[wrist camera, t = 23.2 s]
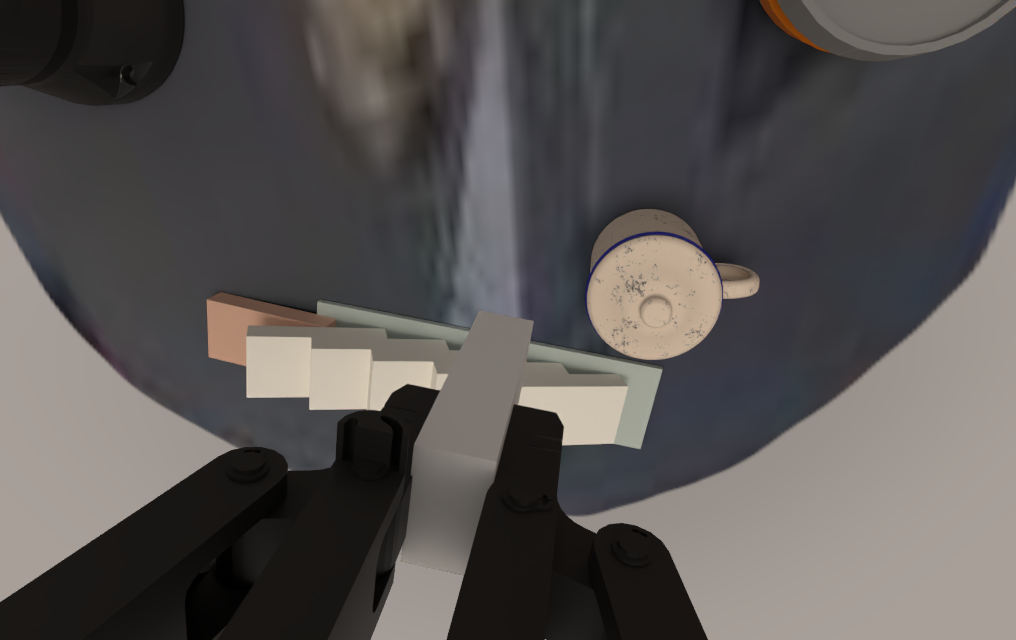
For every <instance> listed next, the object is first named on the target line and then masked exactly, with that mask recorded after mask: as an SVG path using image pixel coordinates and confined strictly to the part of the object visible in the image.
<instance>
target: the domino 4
mask: <svg viewBox="0 0 1016 640" xmlns="http://www.w3.org/2000/svg"><path fill="white" fill-rule="evenodd" d="M459 351H460V350H375V349H371V357H370V370H369V383H368V397H367V410H377V411H381V409H382V408H383V407H384V405H385V403H386V402H387V400H388V398H389V397H390V395H391V394H392V392H394V391H396V390H397V389H399V388H401V387H403V386H404V385H406V384H411V385H416V386H421V387H426V388H430V384H431V376H432V367H433V362H454V361H455V359H456V357H457V355H458V353H459Z"/></svg>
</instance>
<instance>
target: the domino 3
mask: <svg viewBox="0 0 1016 640" xmlns="http://www.w3.org/2000/svg"><path fill="white" fill-rule="evenodd" d="M371 349H375V350H449V348H448V346H447V343H446V341H445V340H436V339H374V338H313V337H311V365H310V395H309V410H334V409H367V397H368V383H369V370H370V357H371Z"/></svg>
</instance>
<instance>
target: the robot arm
mask: <svg viewBox="0 0 1016 640" xmlns="http://www.w3.org/2000/svg"><path fill="white" fill-rule="evenodd" d="M183 27H184V15H183V4H182V0H0V86H11V85H22V86H25V87H28V88H31V89H34V90H37V91H40V92H43V93H46V94H49V95H52V96H55V97H58V98H61V99H64V100H67V101H70V102H74V103H78V104H85V105H95V106H100V105H113V104H123V103H128V102H133V101H136V100H138V99H141V98H143V97H145V96H147V95H148V94H150V93H151V92H153V91H154V90H155V89H157V88H158V87H159V86H160V85H161V84H162V83H163V82H164V80H165V79H166V78H167V77H168V75H169V74H170V72H171V70H172V69H173V67H174V65H175V62H176V60H177V57H178V55H179V51H180V48H181V43H182V37H183ZM533 322H534V321H530V320H525V319H520V318H515V317H510V316H505V315H500V314H495V313H490V312H484V311H479V312H478V314H477V316H476V318H475V320H474V323H473V325H472V327H471V329H470V331H469V333H468V335H467V337H466V339H465V341H464V343H463V345H462V347H461V349H460V351H459V353H458V355H457V357H456V359H455V361H454V364H453V366H452V368H451V370H450V372H449V374H448V376H447V378H446V380H445V382H444V384H443V386H442V388H441V390H435V389H430V388H426V387H421V386H416V385H411V384H406V385H404V386H403V387H401V388H399V389H397V390H396V391H394V392H392V394H391V395H390V397H389V398H388V400H387V402H386V403H385V405H384V407H383V408H382V409H381V411H377V410H365V411H357V412H354V413H352V414H349V415H346V416H345V417H343V418H342V419H341V420H340V421H339V422H338V425H337V443H336V460H335V462H334V463H333V465H332V466H331V468H327V469H323V470H311V471H288V464H287V462H286V460H285V458H284V456H282V455H281V454H279V453H277V452H276V451H274V450H271V449H267V448H263V447H244V448H239V449H235V450H231V451H229V452H227V453H225V454H222V455H220V456H218V457H217V458H216V459H214V460H213V461H211V462H209V463H208V464H206V465H205V466H203V467H202V468H200V469H199V470H197V471H196V472H194V473H193V474H191V475H190V476H189V477H187V478H186V479H184V480H183V481H181V482H180V483H178V484H176V485H175V486H174V487H172V488H171V489H169V490H168V491H166V492H164V493H163V494H162V495H160V496H159V497H157V498H156V499H154V500H153V501H151V502H150V503H148V504H147V505H145V506H144V507H142V508H141V509H139V510H138V511H136V512H135V513H133V514H132V515H130V516H129V517H127V518H126V519H124V520H123V521H121V522H120V523H118V524H117V525H115V526H114V527H112V528H111V529H109V530H108V531H106V532H105V533H103V534H102V535H100V536H99V537H97V538H96V539H94V540H93V541H91V542H90V543H88V544H87V545H85V546H84V547H82V548H81V549H79V550H78V551H76V552H75V553H73V554H72V555H70V556H69V557H67V558H66V559H64V560H63V561H61V562H60V563H58V564H57V565H55V566H54V567H52V568H51V569H49V570H48V571H46V572H45V573H43V574H42V575H40V576H39V577H37V578H36V579H34V580H33V581H31V582H30V583H28V584H27V585H25V586H24V587H22V588H21V589H19V590H18V591H16V592H15V593H13V594H12V595H11V596H9V597H7V598H6V599H4V600H3V601H1V602H0V640H371V637H372V634H373V632H374V630H375V627H376V624H377V622H378V619H379V617H380V614H381V612H382V609H383V607H384V604H385V602H386V599H387V597H388V594H389V592H390V589H391V587H392V584H393V579H394V572H395V562H396V559H397V557H398V554H399V552H400V550H401V547H402V556H401V562H405V563H410V564H415V565H419V566H423V567H428V568H432V569H437V570H441V571H446V572H450V573H454V574H459V575H463V576H464V578H463V581H462V585H461V589H460V592H459V596H458V600H457V603H456V607H455V611H454V614H453V618H452V622H451V625H450V629H449V633H448V636H447V640H545V639H546V640H708V639H707V637H706V634H705V632H704V630H703V627H702V625H701V623H700V621H699V618H698V616H697V614H696V612H695V610H694V607H693V605H692V603H691V600H690V598H689V596H688V594H687V591H686V589H685V587H684V584H683V582H682V580H681V578H680V575H679V573H678V571H677V569H676V566H675V564H674V562H673V560H672V557H671V555H670V553H669V551H668V550H667V548H666V547H665V545H664V544H663V542H662V541H661V540H660V539H658V538H657V537H656V536H655V535H653V534H652V533H651V532H649V531H646V530H644V529H642V528H640V527H638V526H635V525H630V524H624V523H618V524H609V525H607V526H605V527H603V528H601V529H599V531H598V532H597V534H596V533H594V532H592V531H590V530H588V529H585V528H583V527H582V526H580V525H578V524H576V523H575V522H573V521H572V520H571V519H570V518H569V517H568V516H566V514H565V513H564V512H563V511H562V509H561V508H560V506H559V503H558V501H557V488H558V479H559V469H560V460H561V450H562V441H563V432H564V425H563V424H562V422H561V420H560V418H559V417H558V415H557V413H555V412H550V411H546V410H541V409H536V408H531V407H526V406H521V405H518V404H519V398H520V393H521V388H522V382H523V377H524V371H525V366H526V360H527V355H528V350H529V344H530V339H531V333H532V328H533ZM402 545H403V546H402Z"/></svg>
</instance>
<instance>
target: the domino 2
mask: <svg viewBox="0 0 1016 640" xmlns="http://www.w3.org/2000/svg"><path fill="white" fill-rule="evenodd" d="M311 337H313V338H374V339H387V334H386V330H385V329H383V328H339V327H294V326H249V325H248V330H247V335H246V365H247V398H266V397H309V395H310V365H311Z"/></svg>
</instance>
